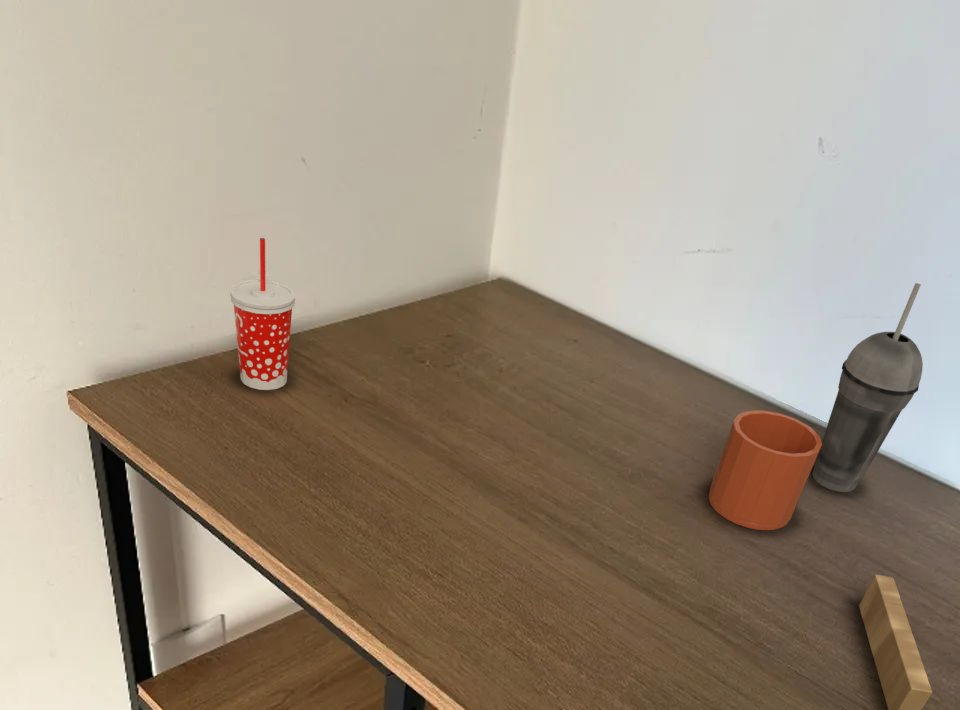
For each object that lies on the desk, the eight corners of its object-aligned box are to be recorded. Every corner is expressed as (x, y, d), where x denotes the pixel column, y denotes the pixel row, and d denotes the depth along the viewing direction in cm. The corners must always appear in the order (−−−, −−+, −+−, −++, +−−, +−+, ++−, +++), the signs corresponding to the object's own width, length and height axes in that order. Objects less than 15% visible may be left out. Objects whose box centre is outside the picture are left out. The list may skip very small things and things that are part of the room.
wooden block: (893, 577, 80) (933, 692, 70) (876, 609, 83) (912, 725, 72) (875, 573, 80) (911, 688, 70) (858, 605, 83) (891, 721, 72)
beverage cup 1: (240, 361, 100) (236, 222, 90) (299, 370, 100) (301, 232, 91) (226, 388, 95) (220, 245, 86) (288, 397, 95) (289, 256, 86)
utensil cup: (763, 481, 96) (791, 409, 91) (806, 527, 91) (838, 454, 86) (694, 485, 94) (718, 411, 89) (733, 533, 88) (762, 457, 83)
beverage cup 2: (799, 488, 96) (881, 293, 83) (798, 454, 102) (875, 265, 88) (871, 506, 95) (966, 312, 82) (867, 471, 101) (955, 283, 88)
